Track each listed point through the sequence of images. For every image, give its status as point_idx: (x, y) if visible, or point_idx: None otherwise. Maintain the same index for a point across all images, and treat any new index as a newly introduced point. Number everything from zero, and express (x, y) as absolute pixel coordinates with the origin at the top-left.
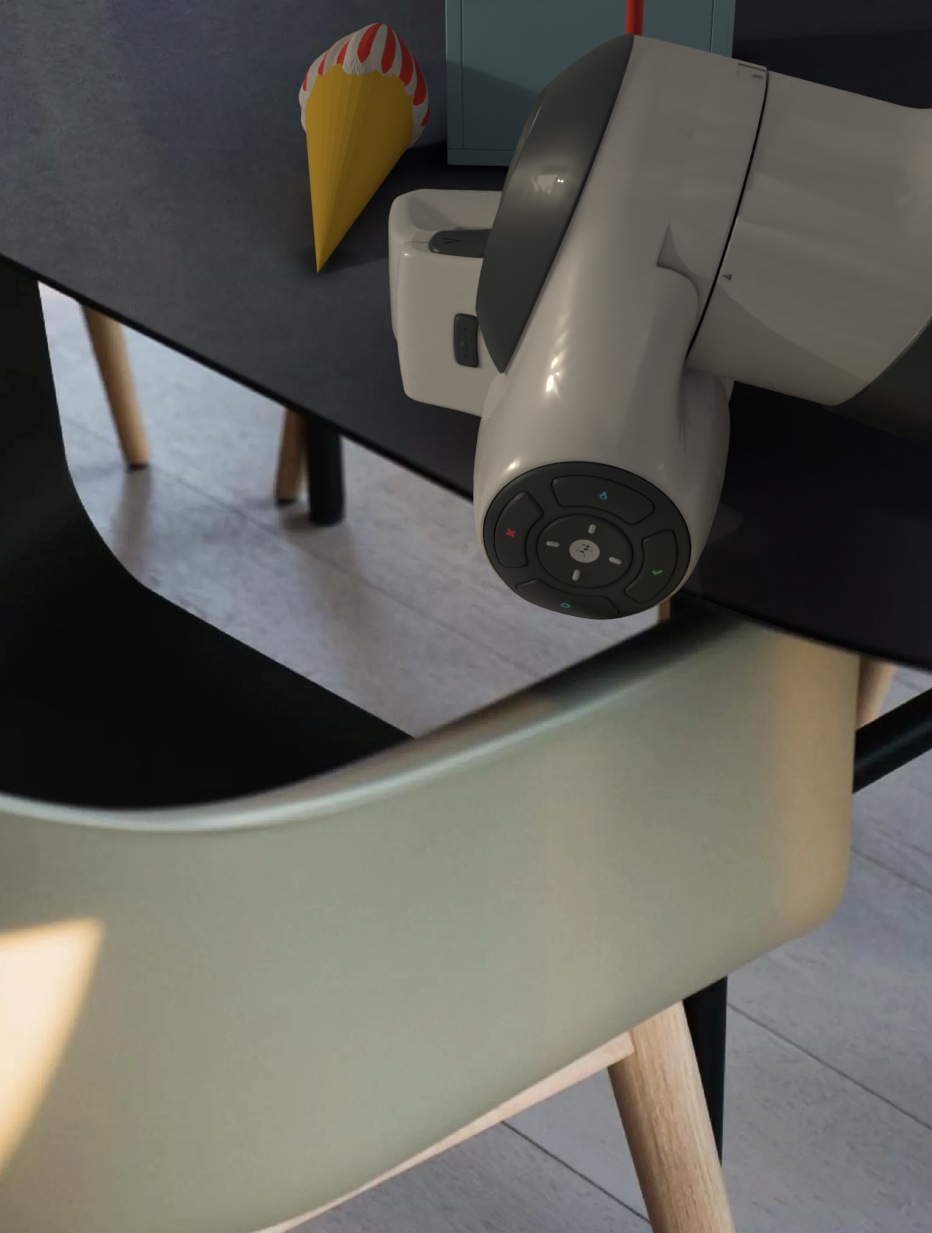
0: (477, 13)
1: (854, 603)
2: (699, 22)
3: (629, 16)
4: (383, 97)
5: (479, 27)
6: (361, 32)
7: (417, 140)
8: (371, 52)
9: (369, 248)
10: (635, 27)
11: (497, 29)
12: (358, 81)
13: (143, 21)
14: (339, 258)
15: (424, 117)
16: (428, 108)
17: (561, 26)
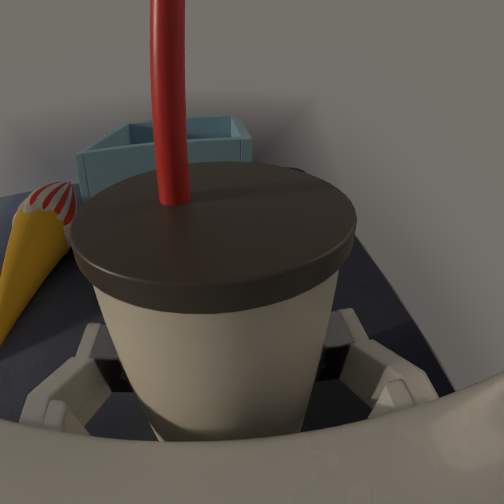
0: (93, 167)
1: None
2: (232, 159)
3: (156, 89)
4: (40, 224)
5: (96, 175)
6: (39, 188)
7: None
8: (37, 198)
9: (26, 335)
10: (170, 109)
11: (106, 175)
12: (28, 217)
13: (22, 194)
14: (7, 346)
15: None
16: None
17: (144, 168)
